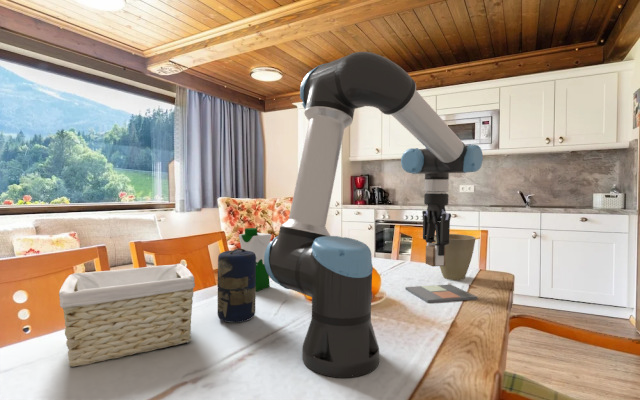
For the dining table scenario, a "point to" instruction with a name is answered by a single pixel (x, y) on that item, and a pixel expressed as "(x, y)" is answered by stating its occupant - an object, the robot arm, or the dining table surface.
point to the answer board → (440, 293)
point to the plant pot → (457, 256)
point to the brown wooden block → (432, 255)
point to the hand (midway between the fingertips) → (434, 263)
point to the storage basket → (126, 311)
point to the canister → (236, 285)
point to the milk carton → (257, 253)
